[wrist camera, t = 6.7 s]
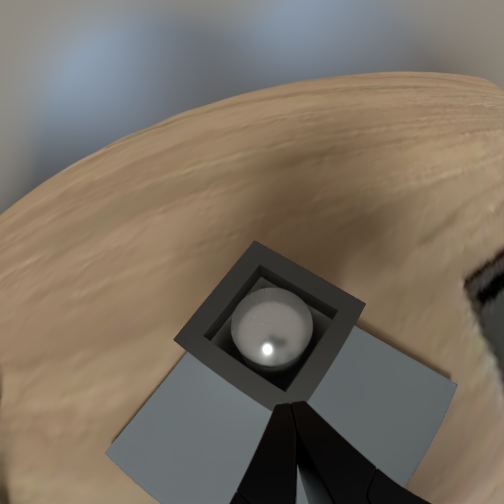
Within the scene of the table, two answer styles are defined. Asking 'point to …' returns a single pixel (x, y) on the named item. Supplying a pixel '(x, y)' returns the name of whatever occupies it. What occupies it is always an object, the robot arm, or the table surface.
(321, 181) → the table surface
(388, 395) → the mat
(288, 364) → the button
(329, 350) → the housing
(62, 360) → the table surface
